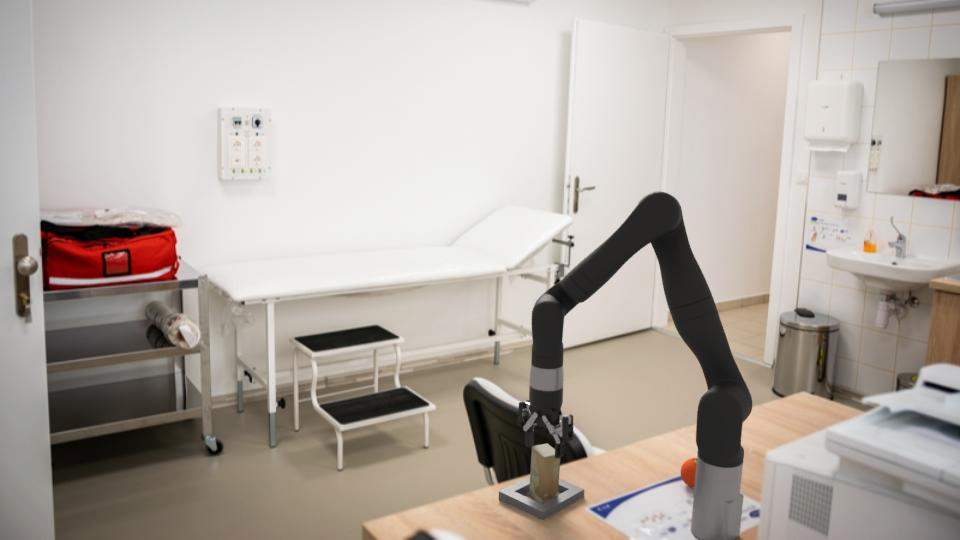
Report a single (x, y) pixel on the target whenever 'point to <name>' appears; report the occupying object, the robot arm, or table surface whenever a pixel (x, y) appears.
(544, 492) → the skincare box
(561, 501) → the holder
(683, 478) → the clementine
